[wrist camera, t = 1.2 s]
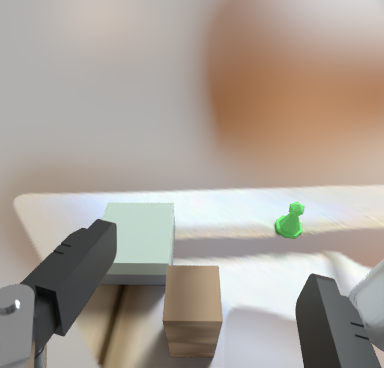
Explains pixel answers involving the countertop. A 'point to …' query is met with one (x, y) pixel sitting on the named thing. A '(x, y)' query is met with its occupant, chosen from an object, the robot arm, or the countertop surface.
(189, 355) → the walnut block
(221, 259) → the countertop surface
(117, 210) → the pale green grey block
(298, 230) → the game piece
